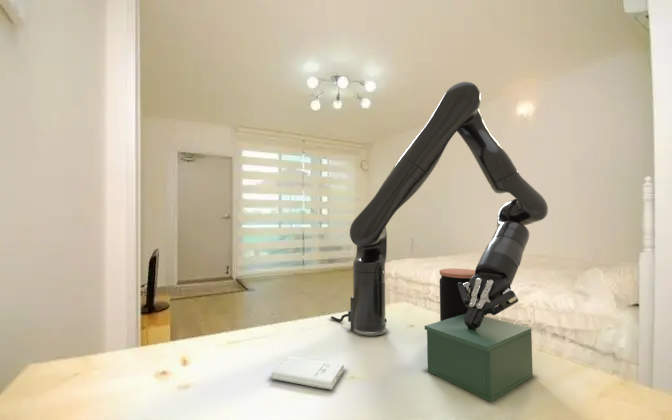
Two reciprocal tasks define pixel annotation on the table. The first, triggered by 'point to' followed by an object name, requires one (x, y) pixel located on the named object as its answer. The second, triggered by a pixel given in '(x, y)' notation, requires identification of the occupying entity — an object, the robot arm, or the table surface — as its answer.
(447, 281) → the coffee jar
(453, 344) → the green box
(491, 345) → the green lid
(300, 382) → the hard drive
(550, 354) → the table surface
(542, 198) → the robot arm
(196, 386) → the table surface
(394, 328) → the table surface
